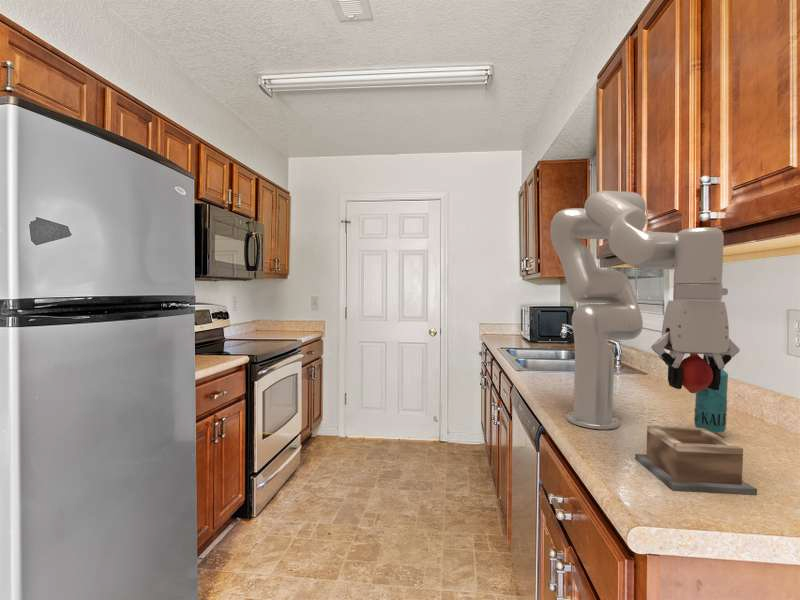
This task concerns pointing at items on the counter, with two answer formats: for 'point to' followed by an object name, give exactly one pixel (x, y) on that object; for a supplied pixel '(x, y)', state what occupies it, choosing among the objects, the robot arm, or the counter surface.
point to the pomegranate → (696, 373)
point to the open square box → (694, 460)
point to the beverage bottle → (712, 406)
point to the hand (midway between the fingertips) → (693, 387)
